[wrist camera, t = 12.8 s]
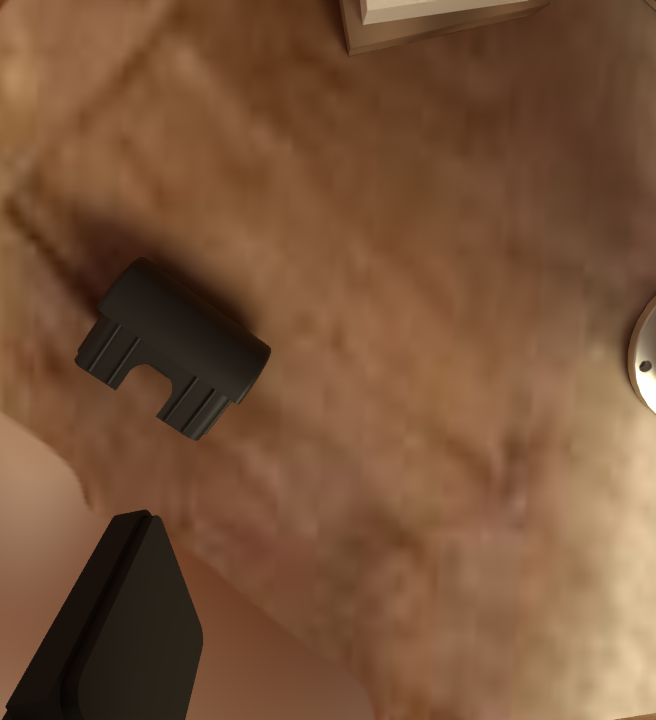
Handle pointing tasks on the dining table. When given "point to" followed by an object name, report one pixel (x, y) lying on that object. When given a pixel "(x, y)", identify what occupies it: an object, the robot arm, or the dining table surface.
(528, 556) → the dining table surface
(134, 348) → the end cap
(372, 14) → the white slab
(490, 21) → the walnut slab
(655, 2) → the ceramic cup
